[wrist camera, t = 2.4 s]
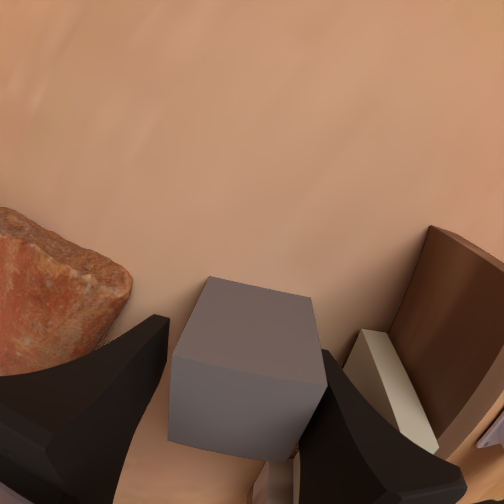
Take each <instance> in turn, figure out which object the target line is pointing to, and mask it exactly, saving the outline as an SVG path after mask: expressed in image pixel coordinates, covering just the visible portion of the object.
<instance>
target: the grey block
mask: <svg viewBox="0 0 504 504" xmlns="http://www.w3.org/2000/svg"><path fill="white" fill-rule="evenodd" d="M327 386H328V385H327V379H326V374H325V368H324V363H323V357H322V352H321V347H320V341H319V336H318V331H317V326H316V321H315V316H314V311H313V306H312V302H311V298H309V297H304V296H299V295H295V294H290V293H285V292H280V291H275V290H271V289H266V288H261V287H257V286H252V285H247V284H243V283H238V282H234V281H229V280H225V279H220V278H216V277H212V276H209V279H208V281H207V283H206V285H205V287H204V289H203V291H202V293H201V295H200V297H199V299H198V301H197V303H196V305H195V307H194V309H193V311H192V313H191V316H190V318H189V320H188V322H187V324H186V326H185V328H184V330H183V332H182V334H181V337H180V339H179V341H178V343H177V345H176V347H175V349H174V351H173V354H172V360H171V375H170V392H169V414H168V441H171V442H175V443H179V444H183V445H187V446H191V447H195V448H199V449H203V450H208V451H212V452H217V453H222V454H227V455H232V456H238V457H244V458H250V459H257V460H264V461H272V462H280V463H286V461H287V460H288V458H289V456H290V454H291V453H292V451H293V449H294V448H295V446H296V444H297V442H298V441H299V439H300V437H301V435H302V434H303V432H304V430H305V428H306V426H307V424H308V423H309V421H310V419H311V417H312V415H313V413H314V411H315V409H316V407H317V406H318V404H319V402H320V400H321V398H322V396H323V394H324V392H325V390H326V388H327Z"/></svg>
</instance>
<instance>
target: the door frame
mask: <svg viewBox="0 0 504 504" xmlns="http://www.w3.org/2000/svg"><path fill="white" fill-rule="evenodd" d="M388 337H389V339H390V341H391V343H392V345H393V347H394V349H395V351H396V353H397V355H398V357H399V359H400V361H401V363H402V365H403V367H404V369H405V371H406V373H407V375H408V377H409V379H410V382H411V384H412V386H413V388H414V390H415V392H416V394H417V397H418V399H419V401H420V403H421V406H422V408H423V410H424V412H425V415H426V417H427V419H428V421H429V424H430V426H431V429H432V431H433V433H434V436H435V438H436V441H437V443H438V445H439V449H438V450H437V451H436V452H435V453H434V454H433V455H435V456H437V457H439V458H441V459H443V460H446V459H447V458H448V457H449V456H450V455H451V454H452V453H453V452H454V451H455V450H456V449H457V448H458V446H459V445H460V444H461V443H462V442H463V441H464V440H465V439H466V438H467V436H468V435H469V434H470V433H471V432H472V431H473V429H474V428H475V427H476V426H477V425H478V423H479V422H480V421H481V420H482V418H483V417H484V416H485V415H486V413H487V412H488V411H489V409H490V408H491V407H492V405H493V404H494V403H495V401H496V400H497V399H498V397H499V396H500V394H501V393H502V391H503V390H504V263H503V262H501V261H500V260H498V259H497V258H495V257H494V256H492V255H490V254H489V253H487V252H486V251H484V250H482V249H481V248H479V247H478V246H476V245H474V244H473V243H471V242H469V241H468V240H466V239H464V238H463V237H461V236H459V235H458V234H456V233H453V232H450V231H447V230H444V229H441V228H438V227H435V226H432V225H431V226H430V229H429V232H428V235H427V238H426V241H425V244H424V247H423V250H422V253H421V255H420V258H419V261H418V264H417V267H416V269H415V272H414V274H413V277H412V280H411V282H410V285H409V287H408V290H407V292H406V295H405V297H404V299H403V302H402V304H401V307H400V309H399V311H398V313H397V316H396V318H395V320H394V322H393V325H392V327H391V329H390V331H389V333H388ZM293 459H294V458H288V460H287V461H286V463H280V462H272V461H266V463H265V465H264V466H263V468H262V470H261V472H260V474H259V476H258V478H257V480H256V481H255V483H254V486H253V487H252V489H251V490H250V492H249V494H248V496H247V504H293Z"/></svg>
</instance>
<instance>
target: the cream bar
mask: <svg viewBox="0 0 504 504" xmlns="http://www.w3.org/2000/svg"><path fill="white" fill-rule="evenodd" d="M343 371H344V373H345V374H346V375H347V377H348V378H349V379H350V381H351V382H352V383H353V385H354V386H355V387H356V388H357V390H358V391H359V392H360V393H361V394H362V396H363V397H364V398H365V399H366V400H367V401H368V402H369V404H370V405H371V406H372V407H373V408H374V409H375V410H376V411H377V412H378V413H379V414H380V415H381V416H382V417H383V418H384V419H385V420H386V421H387V422H389V423H390V424H391V425H392V426H393V427H394V428H395V429H397V430H398V431H399V432H400V433H402V434H403V435H404V436H406V437H407V438H408V439H410V440H411V441H412V442H414V443H415V444H417V445H418V446H420V447H421V448H423V449H425V450H426V451H428V452H430V453H431V454H434V453H435V452H436V451H437V450H438V449H439V445H438V443H437V441H436V438H435V436H434V433H433V431H432V429H431V426H430V424H429V421H428V419H427V417H426V415H425V412H424V410H423V408H422V406H421V403H420V401H419V399H418V397H417V394H416V392H415V390H414V388H413V386H412V384H411V382H410V379H409V377H408V375H407V373H406V371H405V369H404V367H403V365H402V363H401V361H400V359H399V357H398V355H397V353H396V351H395V349H394V347H393V345H392V343H391V341H390V339H389V337H388V335H387V333H385V332H379V331H373V330H367V329H361V331H360V333H359V335H358V338H357V340H356V342H355V344H354V347H353V349H352V351H351V353H350V355H349V358H348V360H347V362H346V364H345V366H344V368H343ZM299 487H300V456H299V451H298V453H297V454H296V456H295V457H294V459H293V504H298V502H299Z"/></svg>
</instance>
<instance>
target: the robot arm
mask: <svg viewBox="0 0 504 504" xmlns="http://www.w3.org/2000/svg"><path fill="white" fill-rule="evenodd" d="M169 324H170V318H167V317H163V316H159V315H156V314H153V315H152V316H150V317H149V318H147V319H146V320H144V321H143V322H141V323H140V324H138V325H137V326H135V327H134V328H132V329H131V330H129V331H128V332H126V333H124V334H123V335H121V336H120V337H118V338H117V339H115V340H113V341H112V342H110V343H108V344H106V345H104V346H102V347H101V348H99V349H97V350H95V351H93V352H91V353H89V354H87V355H84V356H82V357H80V358H77V359H75V360H72V361H69V362H66V363H63V364H60V365H57V366H54V367H51V368H47V369H43V370H39V371H35V372H30V373H24V374H18V375H9V376H0V504H112V503H113V499H114V495H115V492H116V488H117V484H118V481H119V477H120V474H121V471H122V467H123V464H124V461H125V458H126V455H127V452H128V449H129V446H130V443H131V440H132V437H133V435H134V433H135V430H136V428H137V426H138V424H139V422H140V420H141V418H142V416H143V414H144V412H145V410H146V408H147V406H148V404H149V402H150V400H151V398H152V396H153V394H154V392H155V390H156V388H157V386H158V384H159V382H160V379H161V376H162V373H163V370H164V367H165V365H166V362H167V350H168V336H169ZM321 352H322V357H323V363H324V368H325V374H326V379H327V385H328V386H327V388H326V390H325V392H324V394H323V396H322V398H321V400H320V402H319V404H318V406H317V407H316V409H315V411H314V413H313V415H312V417H311V419H310V421H309V423H308V424H307V426H306V428H305V430H304V432H303V434H302V435H301V437H300V439H299V441H298V445H299V456H300V487H299V502H298V504H455V503H456V502H458V501H459V500H460V499H461V498H462V497H463V496H464V494H465V493H466V491H467V485H466V483H465V480H464V478H463V475H462V473H461V470H460V468H459V467H458V466H456V465H453V464H451V463H449V462H447V461H445V460H443V459H441V458H439V457H437V456H435V455H433V454H431V453H430V452H428V451H426V450H425V449H423V448H421V447H420V446H418V445H417V444H415V443H414V442H412V441H411V440H410V439H408V438H407V437H406V436H404V435H403V434H402V433H400V432H399V431H398V430H397V429H395V428H394V427H393V426H392V425H391V424H390V423H389V422H387V421H386V420H385V419H384V418H383V417H382V416H381V415H380V414H379V413H378V412H377V411H376V410H375V409H374V408H373V407H372V406H371V405H370V404H369V402H368V401H367V400H366V399H365V398H364V397H363V396H362V394H361V393H360V392H359V391H358V390H357V388H356V387H355V386H354V385H353V383H352V382H351V381H350V379H349V378H348V377H347V375H346V374H345V373H344V371H343V370H342V369H341V367H340V366H339V365H338V363H337V362H336V360H335V359H334V358H333V356H332V355H331V354H330V352H329V351H328V350H323V349H321ZM497 444H501V445H502V447H503V449H504V411H503V412H502V413H501V415H500V416H499V417H498V418H497V420H496V421H495V422H494V423H493V425H492V426H491V427H490V428H489V429H488V431H487V432H486V433H485V434H484V435H483V436H482V438H481V439H480V440H479V441H478V442H477V444H476V446H477V448H483V447H488V446H492V445H497Z"/></svg>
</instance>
